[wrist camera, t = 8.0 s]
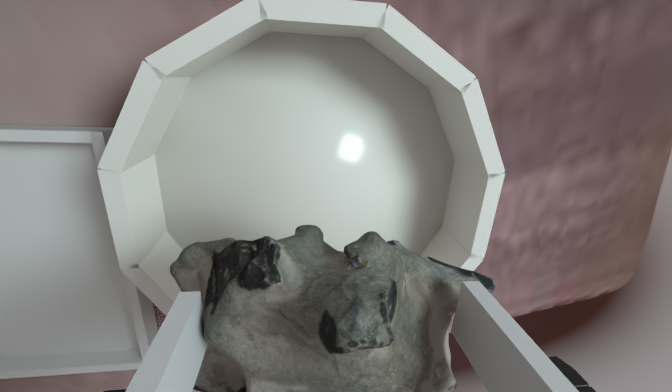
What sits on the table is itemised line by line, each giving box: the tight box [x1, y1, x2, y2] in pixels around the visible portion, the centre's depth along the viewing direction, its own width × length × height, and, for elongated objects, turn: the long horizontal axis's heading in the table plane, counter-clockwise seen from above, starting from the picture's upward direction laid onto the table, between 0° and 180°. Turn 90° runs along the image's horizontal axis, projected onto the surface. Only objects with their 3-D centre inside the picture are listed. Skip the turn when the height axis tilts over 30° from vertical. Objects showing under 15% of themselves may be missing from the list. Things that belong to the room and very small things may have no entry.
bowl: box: [97, 0, 505, 316], centre depth 24 cm, size 26×26×6 cm
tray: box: [0, 124, 158, 379], centre depth 25 cm, size 19×22×2 cm
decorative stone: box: [170, 225, 496, 392], centre depth 13 cm, size 16×9×10 cm, turn 104°
